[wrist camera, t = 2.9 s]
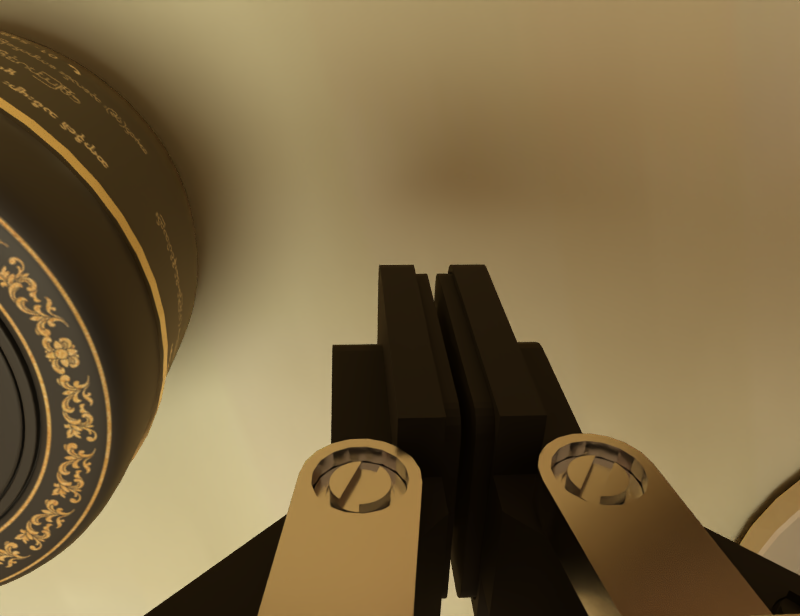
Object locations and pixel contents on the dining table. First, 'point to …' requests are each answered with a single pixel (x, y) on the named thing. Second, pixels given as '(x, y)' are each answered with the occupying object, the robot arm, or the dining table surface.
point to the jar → (79, 295)
